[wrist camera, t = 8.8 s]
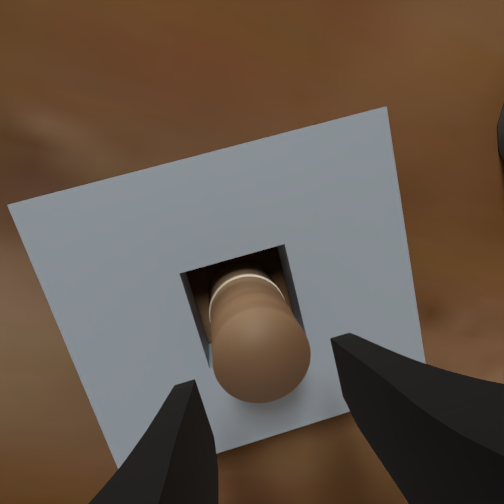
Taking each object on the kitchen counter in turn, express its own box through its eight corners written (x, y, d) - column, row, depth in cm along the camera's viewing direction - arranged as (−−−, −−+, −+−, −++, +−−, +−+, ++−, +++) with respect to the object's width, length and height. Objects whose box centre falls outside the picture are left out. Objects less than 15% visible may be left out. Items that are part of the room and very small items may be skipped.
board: (403, 362, 22) (428, 386, 20) (132, 445, 21) (123, 482, 18) (362, 113, 18) (386, 106, 16) (34, 199, 17) (7, 204, 15)
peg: (283, 310, 20) (323, 383, 13) (221, 332, 20) (230, 418, 13) (263, 250, 19) (296, 296, 13) (198, 273, 19) (196, 332, 12)
